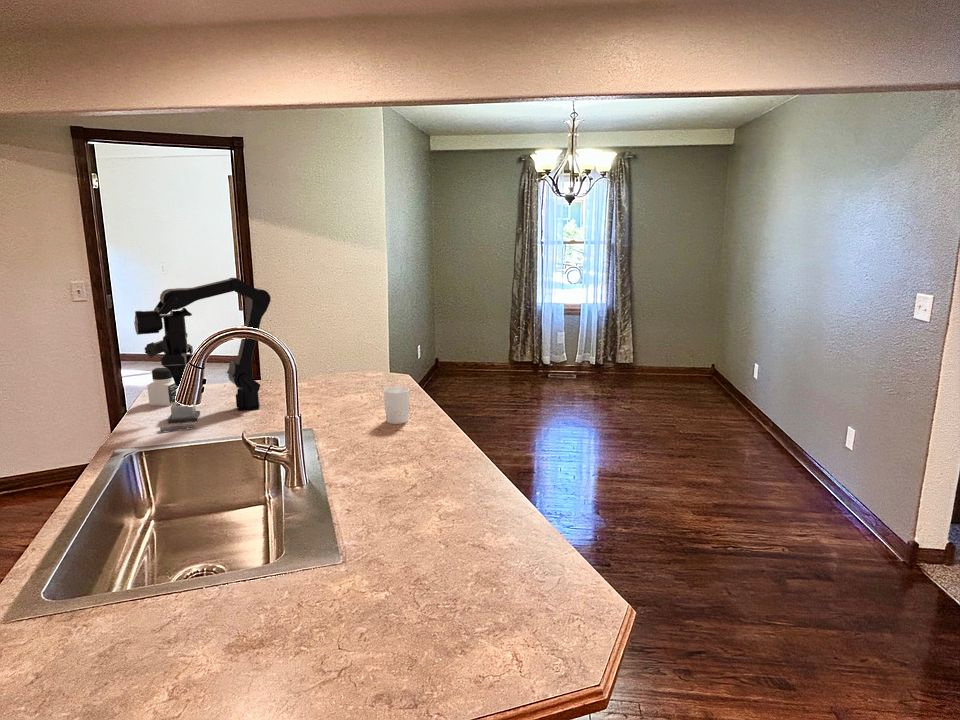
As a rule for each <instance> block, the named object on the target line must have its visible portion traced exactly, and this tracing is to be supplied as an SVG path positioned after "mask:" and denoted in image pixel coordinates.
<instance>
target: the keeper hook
mask: <svg viewBox="0 0 960 720" xmlns="http://www.w3.org/2000/svg"><path fill="white" fill-rule="evenodd" d="M180 406H182V405H180ZM200 415H201V410H196V413H195V415H194V417H191V418H179V419H172V415H171V414H170V416H169V418H168V419H167V424H176V423H178V422H180V423H187V422H186V421H192V422H198V420H199V418H198V417H200ZM197 419H198V420H197Z"/></svg>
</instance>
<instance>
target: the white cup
mask: <svg viewBox="0 0 960 720" xmlns="http://www.w3.org/2000/svg"><path fill="white" fill-rule="evenodd" d="M383 401H384V402H383V403H384V411H385V420H386V423H388V424H391V425H392V424H394V425H401V424H406V423H407V422H409V412H410V411H409V410H410V388H409V387H407V386H401V385H397V386H395V385H394V386H387V387H386V388H385V387H384V389H383Z"/></svg>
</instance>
